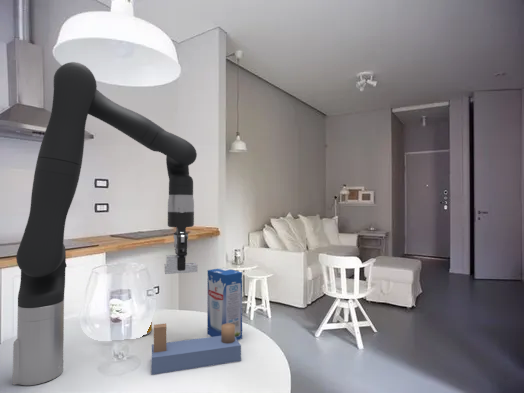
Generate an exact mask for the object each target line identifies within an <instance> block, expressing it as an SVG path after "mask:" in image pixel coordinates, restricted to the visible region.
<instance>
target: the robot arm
mask: <svg viewBox="0 0 524 393" xmlns="http://www.w3.org/2000/svg"><path fill="white" fill-rule="evenodd" d="M97 87H98V84H97V80H96V77H95V75H94V74H93V72H92V70H90V69H89V68H88V67H87V66H86V65H84V64H82V63H80V62H75V61H71V62H67V63H63V65H60V66H59V67H58V69H56V71H55V72H54V75H53V95H52V105H51V106H52V107H51V112H50V117H49V120H48V124H47V126H46V128H45V131H44V134H43V136H42V137H43V138H42V140H41V144H40V147H39V151H38V154H37V160H36V165H35V169H34V174H33V182H32V189H31V196H30V208H29V214H28V218H27V223H26V225H25V229H24V231H23V235H22V237H21V241H20V244H19V246H18V248H17V252H16V257H15V258H16V264H17V267H18V268H19V269H20V283H19V290H18V293H17V321H16V323H17V326H16V328H17V329H16V334H17V335H16V337H17V338H16V339H15V340H14V341H13V347H12V348H13V350H12V355H13V356H12V358H13V359H12V385H21V386H35V385H39V384H40V385H41V384H44V383H47V382H49V381H51V380H54V379H56V378H58V377H59V376H60V375H61V374H63V372H64V343H65V342H64V340H65V339H64V336H65V334H64V330H65V327H64V325H65V322H64V321H65V319H64V318H65V317H64V316H65V289H66V288H65V287H66V260H67V259H66V258H67V257H66V254H67V253H66V252H67V251H66V246H65V244H64V237H65V227H66V220H67V216H68V213H69V210H70V208H71V205H72V203H73V200H74V197H75V194H76V192H77V188H78V185H79V180H80V176H81V169H82V165H83V156H84V147H85V136H86V135H85V133H86V123H87V119H88V115H89V116H92V117H94V118H95V119H97V120H100V121H102V122H103V123H105V124H108V125H109V126H111V127H113V128H114V129H116V130H118V131H120V132H121V133H122V134H125V136H127V137H129V138H131V139H132V140H134V141H135V142H137V143H139V144H140V145H142V146H143V147H145V148H147V149H149V150H150V151H153V152H156V153H157V152H158V153H161V154H163V155H165V156H166V159H165V160H166V162H165V163H166V170H167V177H168V199H167V226H168V228H176V229H175V230H176V231H175V232H173V239H174V240H173V245H174V250H175V251H174V254H175V255H177V269H178V271H183V270H185V263H187V262H186V259H187V255H188V252H187V251H188V247H189V246H188V245H189V244H188V242H189V241H188V240H189V233H188V232H187V230H186V229H187V228H192V227H194V225H195V201H194V200H195V199H194V179H193V178H192V176H191V175H190V167H189V166H190V165H192V164H193V163H194V162H196V159H197V155H198V153H197V150H196V148H195V146H194V145H193V144H192V143H191V142H189V141H188V140H186V139H184V138H183V137H181V136H178V135H176V134H174V133H171V132H169V131H168V130H165V129H164V128H163V127H162V126H160V125H158V124H156V123H155V122H154V121H153V120H151V119H149V118H147V117H146V116H144V115H142V114H140V113H138V112H135V111H133V110H131V109H130V108H127V107H124V106H122V105H120V104H118V103H117V102H115V101H113V100H112V99H110V98H108V97H107V96H105V95H104V94H103V93H102V92H100V91H99V90H98V88H97Z"/></svg>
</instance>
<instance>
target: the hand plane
mask: <svg viewBox="0 0 524 393" xmlns="http://www.w3.org/2000/svg"><path fill="white" fill-rule="evenodd" d="M241 361H242V345H241V344H240V342H239V340H237V338H236V337H235V325H234V324H232V323H226V324H223V325H222V326H221V336H214V337H211V336H207V337H201V338H200V337H199V338H191V339H185V340H175V341H169V342H167V323H165V322H164V323H160V324H159V323H158V324H153V344H151V371H150V372H151V375H152V376H154V375H161V374H165V373H166V374H167V373H172V372H180V371H184V370H185V371H186V370H192V369H198V368H203V367H204V368H205V367H211V366H217V365H224V364H230V363H237V362H241Z"/></svg>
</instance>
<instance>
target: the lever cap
mask: <svg viewBox="0 0 524 393" xmlns="http://www.w3.org/2000/svg"><path fill="white" fill-rule="evenodd" d="M165 261H166V262H165V263H164V274H165V275H171V274H174V275H175V274H187V273H188V274H189V273H190V274H191V273H198V264H197V262H195V261H194V262H186V263H185V270H183V271H178V269H177V254H168V255H166V258H165Z"/></svg>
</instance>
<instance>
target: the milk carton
mask: <svg viewBox="0 0 524 393" xmlns="http://www.w3.org/2000/svg"><path fill="white" fill-rule="evenodd" d="M206 301H207V309H206V310H207V314H206V315H207V328H206V329H207V330H206V331H207V333H206V334H207V336H209V337H214V336H221V326H222V325H223V324H226V323H232V324H234V325H235V337H236V338H237V340H238V341H239V340H242V339H243V272H242V271H238V270H234V269H231V268H226V267H222V268H221V267H220V268H214V269H208V270H207V300H206Z"/></svg>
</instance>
